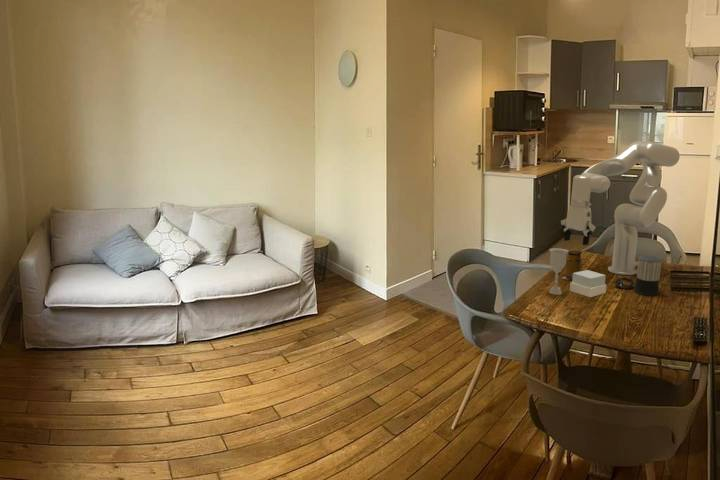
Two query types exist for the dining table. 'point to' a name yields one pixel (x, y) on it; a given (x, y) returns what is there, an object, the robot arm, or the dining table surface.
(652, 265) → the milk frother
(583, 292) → the tower base
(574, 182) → the robot arm
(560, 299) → the dining table surface
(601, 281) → the tower top
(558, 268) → the chalice
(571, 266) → the condiment
